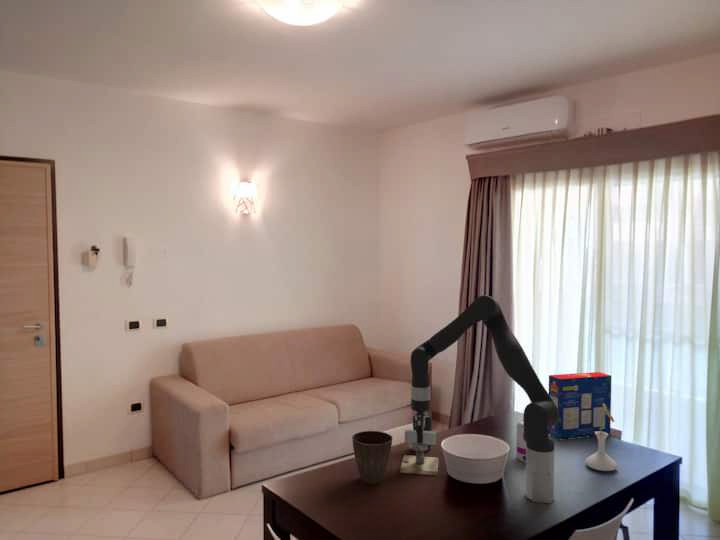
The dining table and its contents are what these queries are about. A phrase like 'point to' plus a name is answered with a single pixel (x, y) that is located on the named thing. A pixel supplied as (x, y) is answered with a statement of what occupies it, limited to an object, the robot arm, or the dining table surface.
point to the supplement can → (521, 442)
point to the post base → (419, 464)
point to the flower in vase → (601, 451)
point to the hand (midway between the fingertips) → (420, 440)
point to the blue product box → (580, 404)
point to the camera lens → (427, 424)
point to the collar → (428, 439)
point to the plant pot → (372, 454)
